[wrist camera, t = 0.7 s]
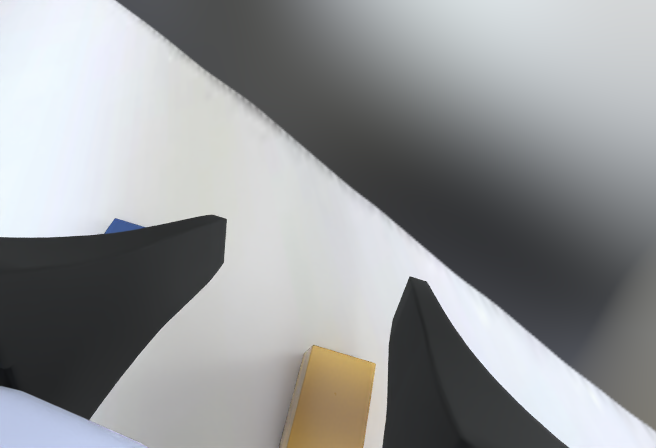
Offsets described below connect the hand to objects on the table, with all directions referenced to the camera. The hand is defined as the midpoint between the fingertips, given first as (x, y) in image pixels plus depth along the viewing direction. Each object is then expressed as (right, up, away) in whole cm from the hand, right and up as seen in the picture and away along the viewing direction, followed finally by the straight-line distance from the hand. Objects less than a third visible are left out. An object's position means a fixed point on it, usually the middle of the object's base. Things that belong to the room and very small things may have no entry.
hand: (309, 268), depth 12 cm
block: (0, -12, +12) cm, 17 cm away
